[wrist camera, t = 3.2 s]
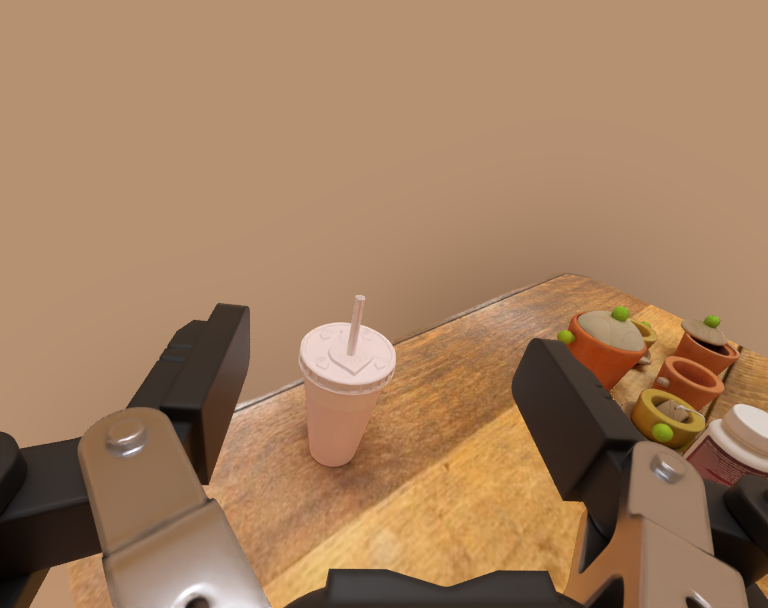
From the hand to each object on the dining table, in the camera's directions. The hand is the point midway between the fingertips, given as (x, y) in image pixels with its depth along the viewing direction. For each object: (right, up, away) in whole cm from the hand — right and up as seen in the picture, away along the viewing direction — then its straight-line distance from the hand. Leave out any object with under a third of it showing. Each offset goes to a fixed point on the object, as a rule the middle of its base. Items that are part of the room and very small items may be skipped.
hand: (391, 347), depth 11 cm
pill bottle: (+27, -15, +22) cm, 38 cm away
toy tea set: (+30, -8, +35) cm, 47 cm away
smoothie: (-4, -10, +19) cm, 22 cm away
